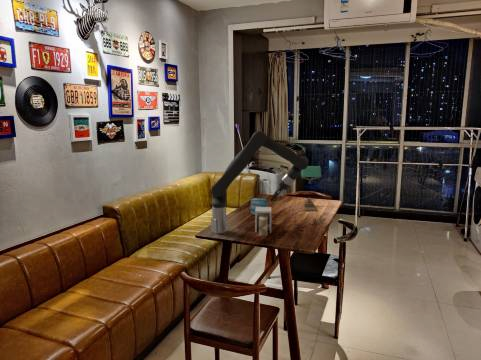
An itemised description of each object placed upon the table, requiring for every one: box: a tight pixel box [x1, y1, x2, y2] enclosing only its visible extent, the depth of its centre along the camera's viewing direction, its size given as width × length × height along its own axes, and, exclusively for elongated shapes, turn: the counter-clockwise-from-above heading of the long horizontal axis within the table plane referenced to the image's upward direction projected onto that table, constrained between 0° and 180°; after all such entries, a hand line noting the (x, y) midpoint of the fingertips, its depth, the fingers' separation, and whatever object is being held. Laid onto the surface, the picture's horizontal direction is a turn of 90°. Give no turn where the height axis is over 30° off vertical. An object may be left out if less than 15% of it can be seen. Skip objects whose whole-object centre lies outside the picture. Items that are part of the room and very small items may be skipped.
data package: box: [250, 197, 268, 216], centre depth 277 cm, size 12×4×12 cm, turn 75°
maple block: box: [258, 213, 269, 237], centre depth 233 cm, size 6×12×11 cm, turn 176°
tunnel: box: [254, 206, 272, 234], centre depth 238 cm, size 10×11×14 cm
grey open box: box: [257, 215, 270, 229], centre depth 248 cm, size 10×9×6 cm
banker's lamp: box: [300, 165, 322, 212], centre depth 290 cm, size 16×21×35 cm
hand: (272, 198), depth 239 cm, fingers open, 8 cm apart
